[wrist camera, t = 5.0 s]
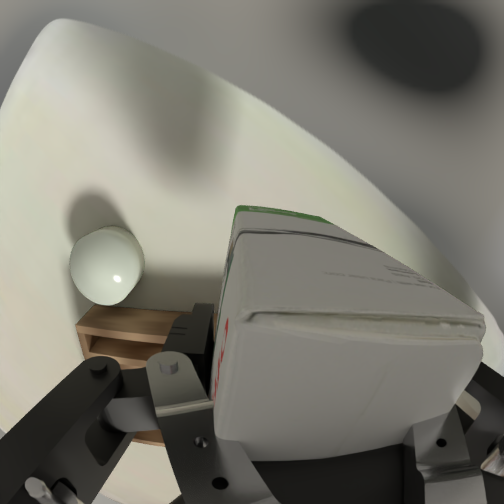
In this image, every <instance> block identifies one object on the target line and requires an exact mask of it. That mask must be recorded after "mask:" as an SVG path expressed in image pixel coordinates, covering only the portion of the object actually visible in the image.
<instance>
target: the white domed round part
mask: <svg viewBox="0 0 504 504" xmlns="http://www.w3.org/2000/svg"><path fill="white" fill-rule="evenodd" d="M144 266H145V259H144V254H143V250H142V248H141V246H140V244H139V242H138V241H137V239H136V238H135V237H134V236H133V235H132V234H131V233H130V232H128V231H127V230H125V229H123V228H121V227H117V226H107V227H103V228H101V229H99V230H96V231H94V232H92V233H90V234H88V235H86V236H84V237H82V238H80V239H79V240H78V241H77V242H76V244H75V245H74V247H73V249H72V251H71V255H70V272H71V275H72V278H73V281H74V283H75V285H76V286H77V288H78V289H79V291H80V292H81V293H82V294H83V295H84V296H85V297H86V298H88V299H89V300H91V301H92V302H95V303H97V304H100V305H114V304H117V303H119V302H120V301H122V300H123V299H124V298H125V297H126V296H127V295H128V294H129V292H130V291H131V290H132V289H133V288H134V286H135V285H136V284H137V283H138V282H139V280H140V279H141V277H142V275H143V272H144Z"/></svg>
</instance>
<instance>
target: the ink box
mask: <svg viewBox="0 0 504 504" xmlns="http://www.w3.org/2000/svg"><path fill="white" fill-rule="evenodd" d="M485 331H486V325H485V322H484V315H483V314H481V313H479V312H477V311H476V310H474V309H473V308H471V307H470V306H468V305H467V304H465V303H464V302H462V301H460V300H459V299H457V298H456V297H454V296H453V295H451V294H450V293H448V292H447V291H445V290H444V289H442V288H441V287H439V286H438V285H436V284H434V283H433V282H431V281H430V280H428V279H426V278H425V277H423V276H422V275H420V274H419V273H417V272H415V271H414V270H412V269H411V268H409V267H407V266H406V265H404V264H403V263H401V262H399V261H398V260H396V259H394V258H393V257H391V256H389V255H387V254H386V253H384V252H382V251H381V250H379V249H377V248H376V247H374V246H372V245H370V244H368V243H367V242H365V241H363V240H361V239H359V238H358V237H356V236H354V235H352V234H350V233H349V232H347V231H345V230H344V229H342V228H340V227H338V226H336V225H334V224H333V223H331V222H329V221H327V220H325V219H323V218H321V217H319V216H313V215H308V214H303V213H298V212H293V211H287V210H281V209H275V208H267V207H258V206H245V205H240V206H237V207H236V210H235V214H234V219H233V225H232V230H231V236H230V241H229V247H228V252H227V258H226V263H225V269H224V276H223V282H222V289H221V295H220V302H219V309H218V316H217V323H216V331H215V339H214V346H213V353H212V363H211V372H210V384H209V394H208V399H209V400H213V403H214V431H215V435H216V436H217V437H218V438H220V439H224V440H233V441H239V442H240V444H241V446H242V447H243V449H244V451H245V452H246V454H247V456H248V457H249V459H250V461H290V460H311V459H324V458H331V457H337V456H342V455H347V454H353V453H358V452H363V451H368V450H373V449H378V448H382V447H386V446H389V445H395V444H400V443H403V438H404V437H405V435H406V434H407V432H408V431H409V429H410V427H411V426H412V424H414V423H418V422H421V421H425V420H428V419H431V418H434V417H437V416H440V415H442V414H445V413H447V412H449V411H450V410H451V409H452V407H453V406H454V404H455V403H456V401H457V399H458V398H459V396H460V395H461V393H462V392H463V391H464V389H465V388H466V386H467V385H468V383H469V382H470V380H471V379H472V377H473V376H474V374H475V372H476V371H477V369H478V367H479V365H480V363H481V361H482V357H483V348H482V345H481V344H480V343H481V341H482V338H483V336H484V334H485Z"/></svg>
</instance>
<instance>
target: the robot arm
mask: <svg viewBox="0 0 504 504" xmlns="http://www.w3.org/2000/svg"><path fill="white" fill-rule="evenodd" d="M213 346H214V305H213V304H206V303H195V305H194V308H193V311H192V314H181V315H180V316H179V317H177V318H176V319H175V320H174V322H173V324H172V327H171V329H170V331H169V334H168V336H167V339H166V341H165V343H164V346H163V348H162V351H161V352H160V353H157V354H155V355H153V356H151V357H150V358H149V359H148V360H147V362H146V367H142V368H136V369H123V370H121V368H120V364H119V363H118V361H117V360H115V359H114V358H111V357H108V356H95V357H91V358H88V359H86V360H85V361H83V362H82V363H81V364H80V365H79V366H78V367H76V368H75V369H74V370H73V371H72V372H71V373H70V374H69V375H68V376H67V377H65V378H64V379H63V380H62V381H61V382H60V383H59V384H58V385H57V386H56V387H55V388H54V389H52V390H51V391H50V392H49V393H48V394H47V395H46V396H45V397H44V398H43V399H42V400H41V401H40V402H39V403H38V404H36V405H35V406H34V407H33V408H32V409H31V410H30V411H29V412H28V413H27V414H26V415H25V416H24V417H23V418H22V419H21V420H20V421H19V422H18V423H17V424H16V425H15V426H14V427H13V428H12V429H11V430H10V431H9V432H8V433H7V434H5V435H4V437H2V438H1V439H0V504H91V503H92V502H93V500H94V499H95V497H96V496H97V494H98V493H99V491H100V489H101V488H102V486H103V485H104V483H105V482H106V480H107V479H108V477H109V475H110V474H111V472H112V471H113V469H114V468H115V466H116V465H117V463H118V461H119V460H120V458H121V457H122V455H123V454H124V452H125V451H126V449H127V447H128V446H129V444H130V443H131V441H132V440H133V438H134V436H135V435H136V433H137V431H148V430H158V429H160V430H161V434H162V437H163V441H164V444H165V447H166V451H167V454H168V457H169V460H170V463H171V466H172V469H173V472H174V475H175V478H176V480H177V483H178V486H179V489H180V491H181V495H180V496H178V497H177V498H176V499H174V500H173V501H172V502H171V503H169V504H504V377H503V376H501V375H500V374H498V373H497V372H496V371H494V370H493V369H491V368H490V367H488V366H487V365H486V364H484V363H483V362H481V363H480V365H479V367H478V369H477V371H476V372H475V374H474V376H473V377H472V379H471V380H470V382H469V383H468V385H467V386H466V388H465V389H464V391H463V392H462V393H461V395H460V396H459V398H458V399H457V401H456V403H455V404H454V406H453V407H452V409H451V410H450V411H449V412H447V413H445V414H442V415H440V416H437V417H434V418H431V419H428V420H425V421H421V422H418V423H414V424H412V426H411V427H410V429H409V431H408V432H407V434H406V435H405V437H404V438H403V443H400V444H395V445H389V446H386V447H382V448H378V449H373V450H368V451H363V452H358V453H353V454H347V455H342V456H337V457H331V458H324V459H311V460H290V461H250V459H249V457H248V456H247V454H246V452H245V451H244V449H243V447H242V446H241V444H240V442H239V441H233V440H224V439H220V438H218V437H217V436H216V435H215V431H214V403H213V400H209V399H208V394H209V384H210V372H211V363H212V353H213Z"/></svg>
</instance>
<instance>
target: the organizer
mask: <svg viewBox="0 0 504 504" xmlns="http://www.w3.org/2000/svg"><path fill="white" fill-rule="evenodd" d="M181 314H192V312H175V311H160V310H147V309H135V308H124V307H114V306H105V305H96V304H95V305H94V306H93V307H92V308H91V309H90V310H89V311H88V312H87V313H86V314H85V315H84V316H83V317H82V318H81V319H80V321H79V322H78V323H77V324H76V329H77V333H78V337H79V341H80V344H81V348H82V351H83V355H84V358H85V360H86V359H88V358H91V357H95V356H108V357H111V358H114V359H115V360H117V361H118V363H119V364H120V368H121V370H123V369H136V368H142V367H146V362H147V360H148V359H149V358H150V357H151V356H153V355H155V354H157V353H160V352H161V351H162V348H163V346H164V343H165V341H166V339H167V336H168V334H169V331H170V329H171V327H172V324H173V322H174V320H175V319H176V318H177V317H179V316H180V315H181ZM217 316H218V314H215V313H214V339H215V331H216V323H217ZM132 441H133V442H138V443H143V444H149V445H156V446H163V447H165V444H164V441H163V437H162V434H161V430H160V429H158V430H148V431H137V433H136V435H135V436H134V438H133V440H132Z"/></svg>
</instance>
